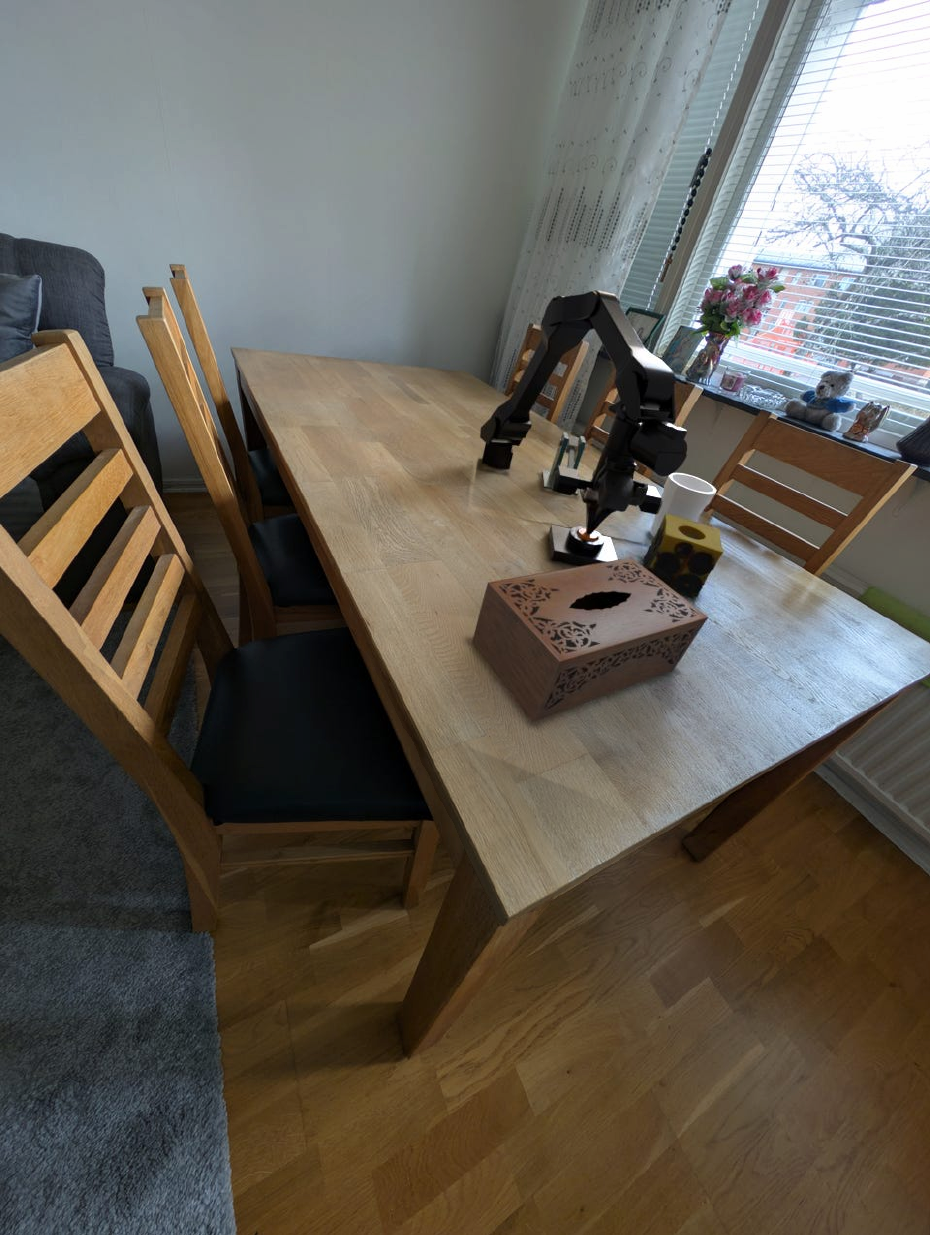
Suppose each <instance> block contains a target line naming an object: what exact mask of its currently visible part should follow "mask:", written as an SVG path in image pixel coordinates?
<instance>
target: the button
mask: <svg viewBox="0 0 930 1235" xmlns="http://www.w3.org/2000/svg"><path fill="white" fill-rule="evenodd" d="M577 535H578V536H579V537H580V538H582V539H584V540H587V541H596V539H597V537H598V535H597V533H596V532H594V531H593V533H592V534H587V533H586V528H581V529H579V531H578V534H577Z"/></svg>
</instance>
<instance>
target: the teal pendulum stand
mask: <svg viewBox="0 0 930 1235" xmlns="http://www.w3.org/2000/svg"><path fill="white" fill-rule="evenodd" d="M578 438H579V441H578V448H577V450H576V452H575V454H574V465H573V469H576V470H577V471H578V468H579V465H580V462H581V459H582V456H583V453H584V452H585V451H586V447H587V441H586V438H585V436H583V435H579V437H578ZM568 440H569V434H568V432H566V431H562V434H561V437H560V438H559V440H558V444H557V445H558V447H557V450H556V453H555V456H554V460H553V463H552V465H551V468H550V471H548V470H544V469H543V470H542V473H541V474H542V480H543V488H545V489H549V490H552V487H551V480H550V478H551V475H552V472H553V470H554V468H555V467H557V466H558V465H559V466H562V465H561V464H562V461H563V458H564V455H565V454H566V452H565V450H566V446H567V443H568ZM573 495H576V496H578V495H579V492H578V490H577V491H576V493H574V494H573Z"/></svg>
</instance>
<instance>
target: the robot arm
mask: <svg viewBox="0 0 930 1235" xmlns="http://www.w3.org/2000/svg"><path fill="white" fill-rule="evenodd" d="M620 303H621V302H620V299H619V297H618V296H617V295H616V294H615V293H613V292H612V293H611V292H607V291H603V290H597V289H594V290H590V291H587V292H585V293H581V294H573V295H567V296H564V295H560V294H559V295H557V296H553V297H552V299H550V301H549V302H548V305H547V306H546V308H545V311H544V314H543V317H542V319H541V322H540V332H541V334H540V335H541V339H540V342H539V344H538V346H537V347H536V349H535V351H534V353H533V355H532V356H531V358H530V360H529V362H528V364H527V366H526V368H525V370H524V372H523V374H522V376H521V377H520V379H519V381H518V383H517V385H516V387H515V389H514V391H513V392H512V394H511V396H510V398H509V399H508V400H505V401H504V402H503V403H501V404H500V405H498V406H497V407H496V408H495V410H494V412H493V413H492V414H491V416H490V418H489V419H488V420H487V421H486V422H485V423H483V425H482V426H481V427H480V430H479V431H480V433H479V437H480V439H481V440H483V442H484V443H485V444H484V448H483V453H482V458H481V464H483V465H486V466H487V467H489V468H493V469H498V470H501V469H503V470H510V468H511V464H512V460H513V456H514V449H513V447H514V446H516V447H520V446H521V444H522V442H523V440H524V439H526V438H527V435H528V432H529V431H530V430H531V428H532V427H533V425H532V423H531V416H530V415H531V414H530V412H531V410H532V409H533V406H534V405H535V403H536V402H537V400H538V398H539V396H540V394H542V391H543V389H544V388H545V387H546V385H547V383H548V381H549V380H550V378H551V376H552V374H553V373H554V371H555V369H556V368H557V366H558V365H559V363H560V361H561V360H562V357H563V356H564V355H565V354H566V353H568V352H570V351H571V350H573V349H574V348H576V347H577V346H579V345H580V343H581V342H582V341H583V340H584V339H585V337H586V336H587V334H588V333H589V332H590V331H593V330H594V331H595V333H596V335H597V337H598V338H599V341H600V342H601V344H602V346H603V348H604V349H605V352H606V353H607V355H608V356H609V358H610V360H611V362H612V364H613V366H614V368H615V377H614V385H615V388H616V391H617V395H618V397H619V400H618V401H617V402H615V403H613V404H611V405H609V406H608V411H609V412H611V413H613V414H614V415H615V416H614V418H613V421H612V424H611V427H610V430H609V432H608V435H607V438H606V440H605V442H604V445H603V446H602V448H601V450H600V456H599V459H598V461H597V464H596V467H595V469H593V471H592V475H591V476H592V477H591V479H589V478H585V477H581V476H579V472H578V469H577V470H576V469H572V468H568V467H567V466H562V465H560V466H559V465H558V466H557V467H555V468H554V470H553V472H552V475H551V478H550V480H551V487H552V489H551V491H552V492H554V493H556V494H561V495H566V496H572V495H575V494H574V493H576V491H578V490H579V493H580V496H581V501H582V502H583V503H584V504H585V508H586V509H585V510H586V511H585V512H586V514H585V527H586V533H587V534H592V533H593V531H594V530H595V531H596V529H597V528H598V527H599V526H600V525H601V524H602V523H603V522H604V521H605V520H606V519H607V518H608V517H609V516H610V515H612V514H613V513H616V512H620V513H623V512H626V510H627V509H628V507H629V506H632V507H638V508H639V511H640V512H642V513H647V514H650V515H654V516H655V515H656V514H658V512H659V510H660V508H661V506H662V498H661V496H662V495H660V493H659V491H658V490H657V487H656V486H651V485H649V484H648V483H647V482H642V481H638V480H636V479H634V475H635V471H636V468H637V463H639V464H640V465H642V466H644V467H645V468H647V469H648V470H649V471H651V472H652V473H654V474H656V475H657V476H659V477H661V478H662V477H663V478H664V477H669V475H670V474H672V473H676V472H677V471H678V469H680V468H681V466H682V465H683V464H684V462H685V460H686V458H687V456H688V454H687V452H688V444H687V441H686V440H685V438H686V436H687V434H688V430H687V429H685V428H683V427H679V426H676V425H675V424H676V422H677V421H676V420H677V419H676V418H677V417H676V412H677V411H676V396H675V395H676V394H675V392H676V391H675V385H676V383H677V379H676V375H675V372H674V371H673V370H672V369H671V368H670V367H669V366H668V365H667V364H666V363H665V361H663V359H660V358H659V357H657V355H654V354H652V353H651V352H650V351H649V350H648V349H647V348H646V347H645V345H644V344H643V342H642V340H641V338H640V337H639V334H638V333H637V331H636V330H635V329H634V327H633V324H631V322H630V320H629V318H628V317H627V314H626V313H625V312H624V310H623V308H622V306H621V304H620ZM636 462H637V463H636Z"/></svg>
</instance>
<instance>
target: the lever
mask: <svg viewBox="0 0 930 1235" xmlns="http://www.w3.org/2000/svg"><path fill="white" fill-rule="evenodd" d="M568 438H569V440H568V443H567V446H566V449H565V454H566V453H567V464H566V465H567V466H566V467H568V468H572V469H573V465H574V454H575V452H576V450H577V448H578V441H579V437H577V436H573V435H568Z"/></svg>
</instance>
